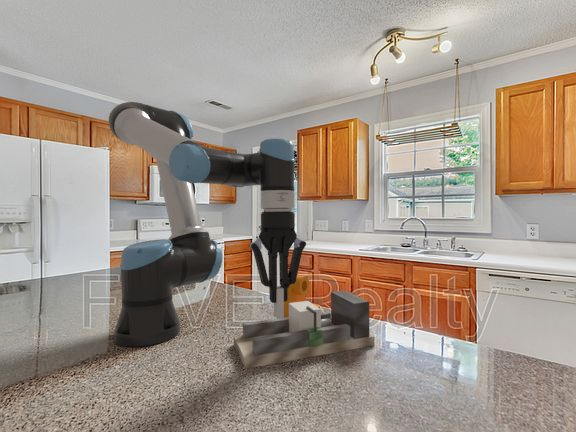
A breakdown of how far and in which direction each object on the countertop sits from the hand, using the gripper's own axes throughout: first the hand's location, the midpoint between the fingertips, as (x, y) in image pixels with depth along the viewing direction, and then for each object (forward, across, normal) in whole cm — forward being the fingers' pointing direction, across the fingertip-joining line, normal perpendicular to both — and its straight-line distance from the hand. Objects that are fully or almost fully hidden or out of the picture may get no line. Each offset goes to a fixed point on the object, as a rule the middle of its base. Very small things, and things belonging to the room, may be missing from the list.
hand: (278, 316), depth 71 cm
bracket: (+8, +13, +18) cm, 24 cm away
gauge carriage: (+5, +8, -1) cm, 10 cm away
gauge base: (+7, +6, 0) cm, 10 cm away
